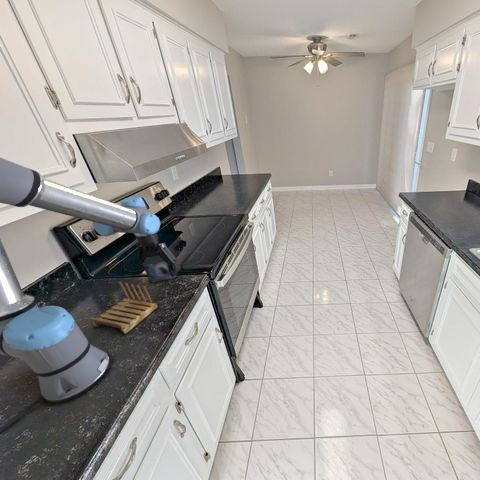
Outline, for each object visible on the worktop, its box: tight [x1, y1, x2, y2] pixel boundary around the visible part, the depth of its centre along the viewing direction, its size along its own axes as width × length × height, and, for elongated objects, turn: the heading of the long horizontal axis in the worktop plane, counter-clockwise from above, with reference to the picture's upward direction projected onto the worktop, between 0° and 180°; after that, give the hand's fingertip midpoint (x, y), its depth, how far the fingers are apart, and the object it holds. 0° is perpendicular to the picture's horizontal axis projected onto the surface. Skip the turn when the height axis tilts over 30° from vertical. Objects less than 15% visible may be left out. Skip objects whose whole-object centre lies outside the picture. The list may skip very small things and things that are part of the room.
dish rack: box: [89, 281, 158, 335], centre depth 94 cm, size 14×15×11 cm
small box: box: [142, 255, 179, 284], centre depth 116 cm, size 11×6×10 cm, turn 105°
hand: (163, 273), depth 118 cm, fingers open, 13 cm apart
